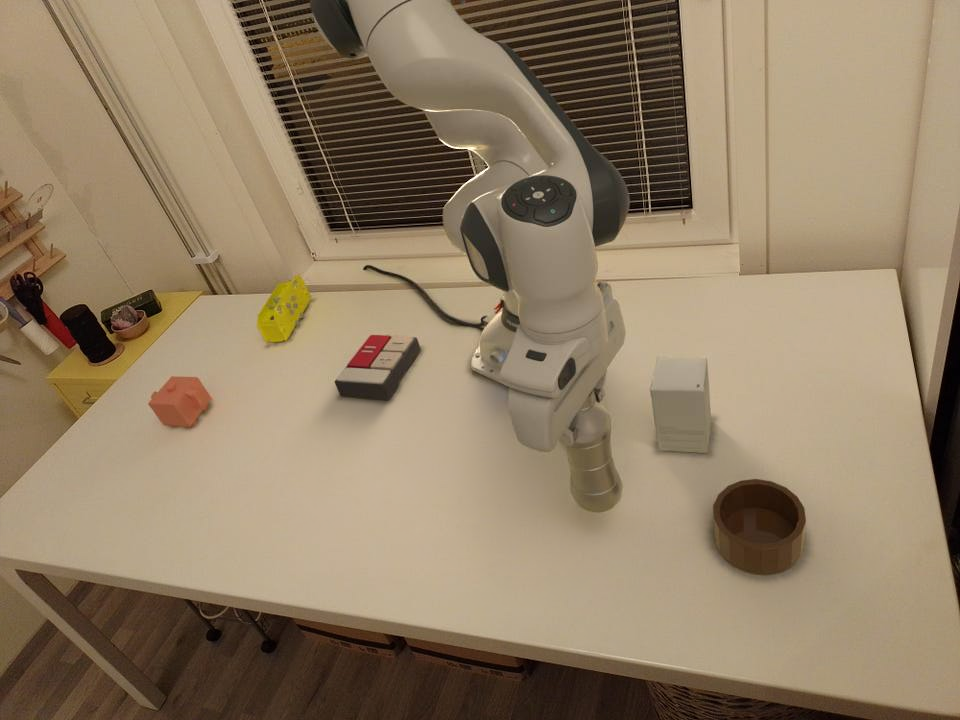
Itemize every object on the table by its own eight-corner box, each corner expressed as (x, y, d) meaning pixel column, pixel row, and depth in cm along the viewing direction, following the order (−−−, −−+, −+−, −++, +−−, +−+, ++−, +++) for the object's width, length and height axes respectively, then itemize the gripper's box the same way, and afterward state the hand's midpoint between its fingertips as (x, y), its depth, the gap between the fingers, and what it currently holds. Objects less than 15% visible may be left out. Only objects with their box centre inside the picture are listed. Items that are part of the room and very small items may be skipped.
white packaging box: (712, 418, 108) (709, 356, 100) (708, 455, 102) (704, 392, 95) (662, 415, 110) (656, 354, 103) (656, 451, 105) (649, 389, 98)
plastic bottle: (623, 520, 89) (605, 410, 77) (570, 519, 91) (544, 412, 78) (625, 479, 94) (608, 370, 81) (574, 479, 96) (550, 372, 83)
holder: (702, 557, 90) (700, 531, 87) (730, 495, 96) (729, 469, 93) (789, 588, 84) (791, 561, 81) (813, 520, 90) (815, 493, 87)
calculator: (416, 333, 137) (382, 383, 127) (422, 351, 140) (389, 401, 129) (369, 332, 142) (331, 379, 131) (375, 349, 144) (339, 396, 134)
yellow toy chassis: (289, 343, 153) (273, 313, 148) (266, 345, 154) (250, 315, 149) (314, 300, 164) (300, 270, 159) (293, 302, 166) (278, 273, 161)
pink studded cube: (176, 400, 146) (156, 371, 141) (222, 402, 142) (202, 372, 137) (153, 428, 141) (131, 398, 136) (200, 431, 136) (179, 400, 131)
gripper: (582, 269, 82) (596, 358, 90) (490, 384, 70) (517, 473, 79) (632, 277, 78) (643, 369, 87) (544, 399, 67) (566, 491, 75)
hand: (582, 419), depth 83 cm, fingers closed on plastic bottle, 6 cm apart
